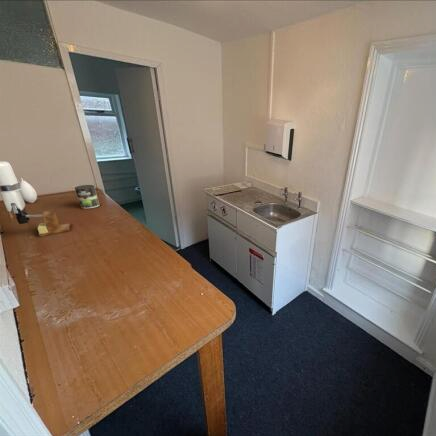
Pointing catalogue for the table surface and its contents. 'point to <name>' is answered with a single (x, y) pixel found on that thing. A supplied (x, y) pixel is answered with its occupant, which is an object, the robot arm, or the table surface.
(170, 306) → the table surface
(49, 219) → the wooden toy catapult
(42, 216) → the ball knob on post
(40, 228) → the butter
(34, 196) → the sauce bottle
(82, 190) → the coffee can
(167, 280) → the table surface
